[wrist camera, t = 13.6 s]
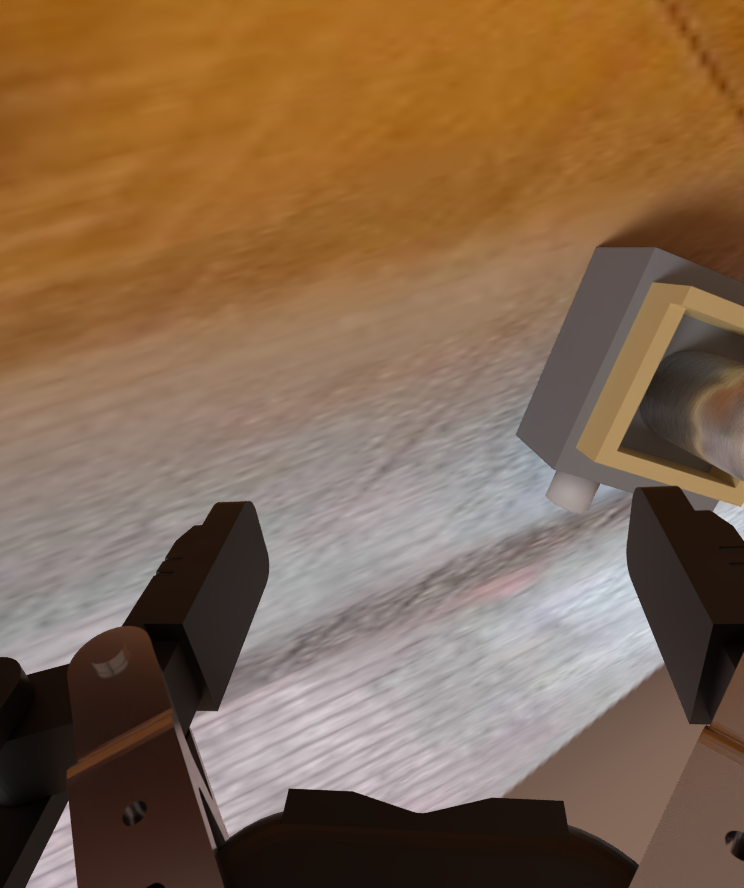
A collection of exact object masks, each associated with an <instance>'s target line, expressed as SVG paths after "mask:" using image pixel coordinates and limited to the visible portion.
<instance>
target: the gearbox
mask: <svg viewBox="0 0 744 888" xmlns="http://www.w3.org/2000/svg"><path fill="white" fill-rule="evenodd" d="M685 350H697V351H702V352H706V353H709V354H713V355H717V356H721V357H724V358H728V359H732V360H736V361H739V362H743V363H744V283H743V282H741V281H738V280H736V279H733V278H731V277H728V276H726V275H723V274H721V273H718V272H716V271H713V270H711V269H708V268H706V267H703V266H701V265H698V264H696V263H694V262H691V261H689V260H686V259H684V258H681V257H679V256H676V255H674V254H671V253H669V252H666V251H664V250H661V249H659V248H656V247H596V249H595V252H594V254H593V256H592V258H591V261H590V263H589V265H588V268H587V270H586V272H585V275H584V277H583V279H582V282H581V284H580V286H579V289H578V291H577V293H576V296H575V298H574V300H573V303H572V305H571V307H570V310H569V312H568V314H567V317H566V319H565V321H564V324H563V326H562V328H561V331H560V333H559V335H558V338H557V340H556V342H555V345H554V347H553V349H552V352H551V354H550V356H549V359H548V361H547V363H546V366H545V368H544V370H543V373H542V375H541V377H540V380H539V382H538V384H537V387H536V389H535V391H534V394H533V396H532V398H531V401H530V403H529V405H528V408H527V410H526V412H525V414H524V417H523V419H522V421H521V424H520V426H519V428H518V431H517V433H516V436H517V437H518V438H520V439H521V440H522V441H523V442H524V443H525V444H526V445H527V446H528V447H529V448H531V449H532V450H533V451H534V452H535V453H536V454H537V455H538V456H539V457H540V458H542V459H543V460H544V461H545V462H546V463H547V464H548V465H549V466H550V467H551V468H553V469H554V470H557V471H556V473H555V475H554V477H553V480H552V482H551V484H550V486H549V488H548V491H547V493H546V497H547V498H548V499H549V500H550V501H551V502H553V503H554V504H556V505H558V506H560V507H562V508H564V509H566V510H569V511H571V512H575V513H579V514H585V513H586V512H587V510H588V508H589V506H590V504H591V502H592V499H593V497H594V495H595V493H596V491H597V489H598V487H599V485H600V483H601V484H604V485H607V486H611V487H614V488H617V489H621V490H624V491H627V492H631V493H634V490H635V489H636V488H637V487H654V486H679V487H680V488H681V490H682V491H683V493H684V494H685V496H686V497H687V499H688V500H689V502H690V504H691V505H692V507H693V508H694V510H711V511H712V512H713V510H714V508H715V507H716V505H717V503H718V501H719V500H720V501H724V502H727V503H730V504H733V505H737V506H740V507H741V505H742V504H743V502H744V482H743V481H741V480H740V479H738V478H736V477H734V476H732V475H730V474H729V473H727V472H725V471H723V470H721V469H719V468H717V467H716V466H714V465H712V464H710V463H708V462H706V461H704V460H703V459H701V458H699V457H697V456H695V455H693V454H692V453H690V452H688V451H686V450H684V449H682V448H680V447H679V446H677V445H675V444H673V443H671V442H669V441H668V440H666V439H664V438H662V437H660V436H658V435H656V434H655V433H653V432H652V431H650V430H649V429H648V428H647V427H646V425H645V424H644V422H643V421H642V418H641V416H640V412H639V404H640V402H641V400H642V398H643V396H644V394H645V392H646V390H647V388H648V386H649V384H650V382H651V380H652V378H653V376H654V374H655V372H656V370H657V368H658V366H659V364H660V362H661V361H662V360H663V359H664V358H666V357H668V356H670V355H672V354H674V353H677V352H680V351H685Z"/></svg>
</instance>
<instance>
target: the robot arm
mask: <svg viewBox="0 0 744 888" xmlns="http://www.w3.org/2000/svg"><path fill="white" fill-rule="evenodd" d="M626 555H627V565H628V571H629V575H630V578H631V581H632V583H633V586H634V588H635V590H636V593H637V595H638V598H639V600H640V603H641V605H642V608H643V610H644V613H645V615H646V618H647V620H648V623H649V625H650V628H651V630H652V633H653V635H654V637H655V640H656V642H657V645H658V647H659V650H660V652H661V655H662V657H663V660H664V662H665V665H666V667H667V670H668V672H669V674H670V677H671V679H672V682H673V684H674V687H675V689H676V692H677V694H678V697H679V699H680V702H681V704H682V707H683V709H684V712H685V714H686V717H687V719H688V722H689V724H710V726H705V727H704V729H703V731H702V732H701V734H700V736H699V738H698V741H697V743H696V745H695V747H694V749H693V751H692V753H691V755H690V758H689V760H688V762H687V764H686V766H685V768H684V770H683V773H682V775H681V777H680V779H679V781H678V784H677V785H676V788H675V790H674V792H673V794H672V796H671V798H670V800H669V803H668V805H667V807H666V809H665V811H664V814H663V815H662V818H661V820H660V822H659V824H658V826H657V828H656V830H655V833H654V835H653V837H652V839H651V841H650V843H649V845H648V848H647V850H646V852H645V854H644V856H643V858H642V860H641V863H640V865H638V864H637V863H636V862H635V861H634V860H632V859H631V858H630V857H628V856H627V855H625V854H624V853H623V852H621V851H620V850H619V849H617V848H615V847H614V846H612V845H611V844H609V843H607V842H606V841H604V840H602V839H601V838H599V837H597V836H595V835H592V834H590V833H588V832H586V831H584V830H582V829H579V828H576V827H573V826H570V825H567V819H566V813H565V808H564V802H563V801H553V800H531V799H508V798H489V799H484V800H480V801H476V802H472V803H467V804H463V805H459V806H454V807H450V808H446V809H441V810H437V811H433V812H428V813H415V812H412V811H409V810H406V809H403V808H400V807H397V806H394V805H391V804H388V803H385V802H382V801H379V800H376V799H373V798H370V797H367V796H364V795H361V794H358V793H356V792H353V791H331V790H308V789H289V791H288V795H287V799H286V803H285V808H284V811H283V812H280V813H276V814H273V815H271V816H268V817H265V818H263V819H260V820H258V821H256V822H254V823H252V824H250V825H249V826H247V827H245V828H243V829H242V830H240V831H239V832H237V833H236V834H234V835H233V836H231V837H229V835H228V832H227V830H226V827H225V825H224V822H223V820H222V817H221V814H220V811H219V809H218V806H217V803H216V800H215V797H214V794H213V791H212V788H211V785H210V782H209V779H208V776H207V773H206V770H205V768H204V765H203V762H202V759H201V756H200V753H199V750H198V747H197V744H196V741H195V738H194V735H193V733H192V730H191V728H190V724H191V722H192V720H193V717H194V715H195V712H196V711H218V709H219V706H220V704H221V701H222V699H223V696H224V693H225V691H226V688H227V685H228V683H229V680H230V678H231V675H232V672H233V670H234V667H235V665H236V662H237V659H238V657H239V654H240V651H241V649H242V646H243V644H244V641H245V638H246V636H247V633H248V631H249V628H250V625H251V623H252V620H253V618H254V615H255V612H256V610H257V607H258V604H259V602H260V599H261V597H262V594H263V591H264V589H265V586H266V583H267V580H268V575H269V557H268V552H267V549H266V545H265V542H264V538H263V534H262V531H261V527H260V524H259V520H258V516H257V513H256V509H255V507H254V505H253V503H252V502H250V501H241V502H218V503H216V504H215V505H214V506H213V508H212V509H211V511H210V513H209V514H208V516H207V518H206V519H205V521H204V523H203V524H202V525H195V526H193V527H192V528H191V529H190V530H188V531H187V532H186V533H185V534H184V535H182V536H181V537H180V538H179V539H178V540H176V542H175V543H174V545H173V546H172V548H171V550H170V551H169V553H168V554H167V556H166V557H165V561H163V562H162V564H161V565H160V567H159V568H158V570H157V572H156V576H153V578H152V579H151V581H150V583H149V584H148V586H147V587H146V589H145V590H144V592H143V594H142V595H141V597H140V598H139V600H138V601H137V603H136V605H135V606H134V608H133V609H132V611H131V612H130V614H129V616H128V617H127V619H126V620H125V622H124V623H123V625H122V627H117V628H114V629H110V630H108V631H105V632H103V633H101V634H99V635H97V636H96V637H94V638H93V639H91V640H90V641H88V642H87V643H86V644H85V645H84V646H83V647H81V648H80V649H79V651H78V652H77V653H76V654H75V655H74V657H73V658H72V660H71V662H70V664H66V665H63V666H59V667H55V668H51V669H48V670H44V671H40V672H36V673H33V674H29V675H26V674H25V672H24V671H23V669H22V667H21V666H20V664H19V663H18V662H17V661H16V660H14V659H12V658H8V657H0V888H25V887H26V885H27V883H28V881H29V879H30V877H31V875H32V873H33V871H34V869H35V867H36V865H37V863H38V861H39V859H40V857H41V855H42V853H43V851H44V849H45V847H46V845H47V843H48V841H49V839H50V837H51V835H52V833H53V831H54V829H55V827H56V825H57V823H58V821H59V819H60V817H61V815H62V813H63V810H64V808H65V806H66V804H67V802H68V800H69V809H70V818H71V828H72V838H73V847H74V857H75V867H76V876H77V886H78V888H744V541H743V539H742V538H741V536H740V535H739V534H738V532H737V531H736V529H735V528H734V527H733V526H732V525H731V524H729V523H728V522H726V521H725V520H723V519H722V518H721V517H719V516H718V515H716V514H715V513H713V512H712V511H711V510H694V508H693V507H692V505H691V504H690V502H689V500H688V499H687V497H686V496H685V494H684V493H683V491H682V490H681V488H680V487H679V486H654V487H637V488H636V489H635V490H634V493H633V498H632V507H631V515H630V523H629V531H628V539H627V549H626Z"/></svg>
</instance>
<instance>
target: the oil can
mask: <svg viewBox="0 0 744 888" xmlns="http://www.w3.org/2000/svg"><path fill="white" fill-rule="evenodd" d="M639 412H640V416H641V418H642V421H643V422H644V424H645V425H646V427H647V428H648V429H649V430H650V431H652V432H653V433H655V434H656V435H658V436H660V437H662V438H664V439H666V440H668V441H669V442H671V443H673V444H675V445H677V446H679V447H680V448H682V449H684V450H686V451H688V452H690V453H692V454H693V455H695V456H697V457H699V458H701V459H703V460H704V461H706V462H708V463H710V464H712V465H714V466H716V467H717V468H719V469H721V470H723V471H725V472H727V473H729V474H730V475H732V476H734V477H736V478H738V479H740V480H741V481H743V482H744V363H743V362H739V361H736V360H732V359H728V358H724V357H721V356H717V355H713V354H709V353H706V352H702V351H697V350H685V351H680V352H677V353H674V354H672V355H670V356H668V357H666V358H664V359H663V360H662V361H661V362H660V364H659V366H658V368H657V370H656V372H655V374H654V376H653V378H652V380H651V382H650V384H649V386H648V388H647V390H646V392H645V394H644V396H643V398H642V400H641V402H640V404H639Z"/></svg>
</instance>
